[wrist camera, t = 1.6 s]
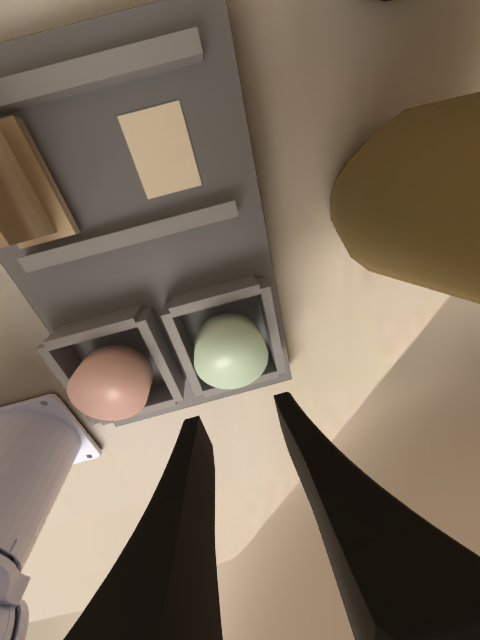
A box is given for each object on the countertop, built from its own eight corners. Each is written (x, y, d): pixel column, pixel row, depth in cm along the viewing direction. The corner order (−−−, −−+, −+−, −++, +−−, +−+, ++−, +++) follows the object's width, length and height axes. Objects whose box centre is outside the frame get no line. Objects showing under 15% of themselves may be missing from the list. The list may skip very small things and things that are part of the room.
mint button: (206, 376, 18) (206, 397, 16) (185, 323, 15) (183, 340, 14) (266, 359, 18) (273, 378, 16) (254, 304, 16) (260, 319, 14)
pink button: (102, 404, 18) (91, 428, 16) (67, 354, 15) (50, 376, 14) (163, 387, 18) (158, 409, 16) (137, 336, 15) (128, 354, 14)
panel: (121, 412, 22) (107, 449, 19) (-93, 89, 12) (-201, 52, 8) (286, 367, 22) (300, 396, 19) (220, 7, 12) (227, -59, 9)
